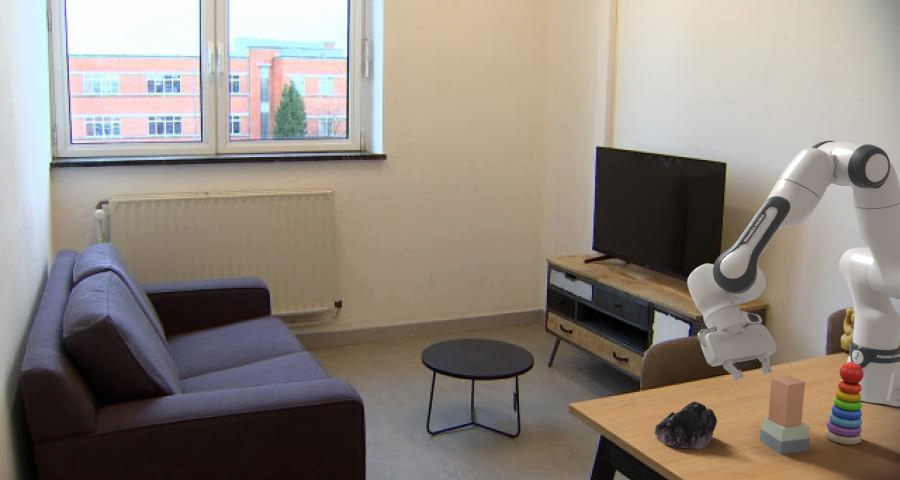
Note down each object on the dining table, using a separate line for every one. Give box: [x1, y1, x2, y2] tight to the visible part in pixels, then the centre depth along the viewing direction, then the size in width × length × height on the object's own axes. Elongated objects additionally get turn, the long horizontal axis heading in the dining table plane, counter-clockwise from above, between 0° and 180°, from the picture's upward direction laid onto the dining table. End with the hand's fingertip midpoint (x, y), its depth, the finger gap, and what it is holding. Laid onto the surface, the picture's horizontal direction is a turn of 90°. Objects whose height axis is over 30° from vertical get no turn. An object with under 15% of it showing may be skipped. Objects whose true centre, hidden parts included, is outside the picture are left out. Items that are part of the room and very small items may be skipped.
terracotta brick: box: [767, 375, 806, 427], centre depth 199 cm, size 5×5×10 cm
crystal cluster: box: [654, 401, 718, 450], centre depth 203 cm, size 13×14×10 cm
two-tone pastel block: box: [759, 416, 810, 455], centre depth 200 cm, size 8×8×6 cm
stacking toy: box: [824, 362, 864, 446], centre depth 203 cm, size 8×8×19 cm
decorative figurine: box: [840, 306, 855, 354], centre depth 268 cm, size 10×8×15 cm
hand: (754, 376), depth 207 cm, fingers open, 8 cm apart
